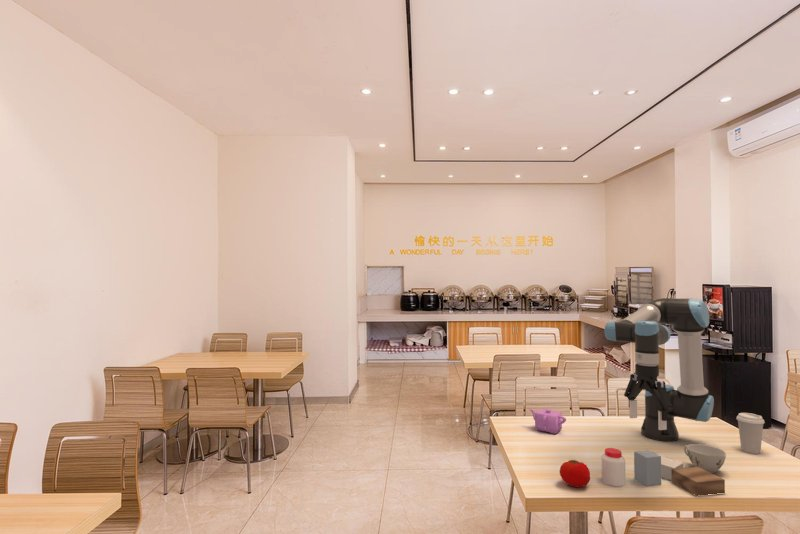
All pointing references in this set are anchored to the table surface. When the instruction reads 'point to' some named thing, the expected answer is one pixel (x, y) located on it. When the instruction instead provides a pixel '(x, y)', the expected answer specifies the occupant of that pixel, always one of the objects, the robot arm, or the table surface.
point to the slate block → (647, 468)
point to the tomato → (575, 473)
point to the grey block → (669, 467)
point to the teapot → (548, 420)
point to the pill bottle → (613, 467)
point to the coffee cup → (750, 432)
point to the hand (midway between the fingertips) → (647, 423)
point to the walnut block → (698, 481)
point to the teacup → (705, 456)
